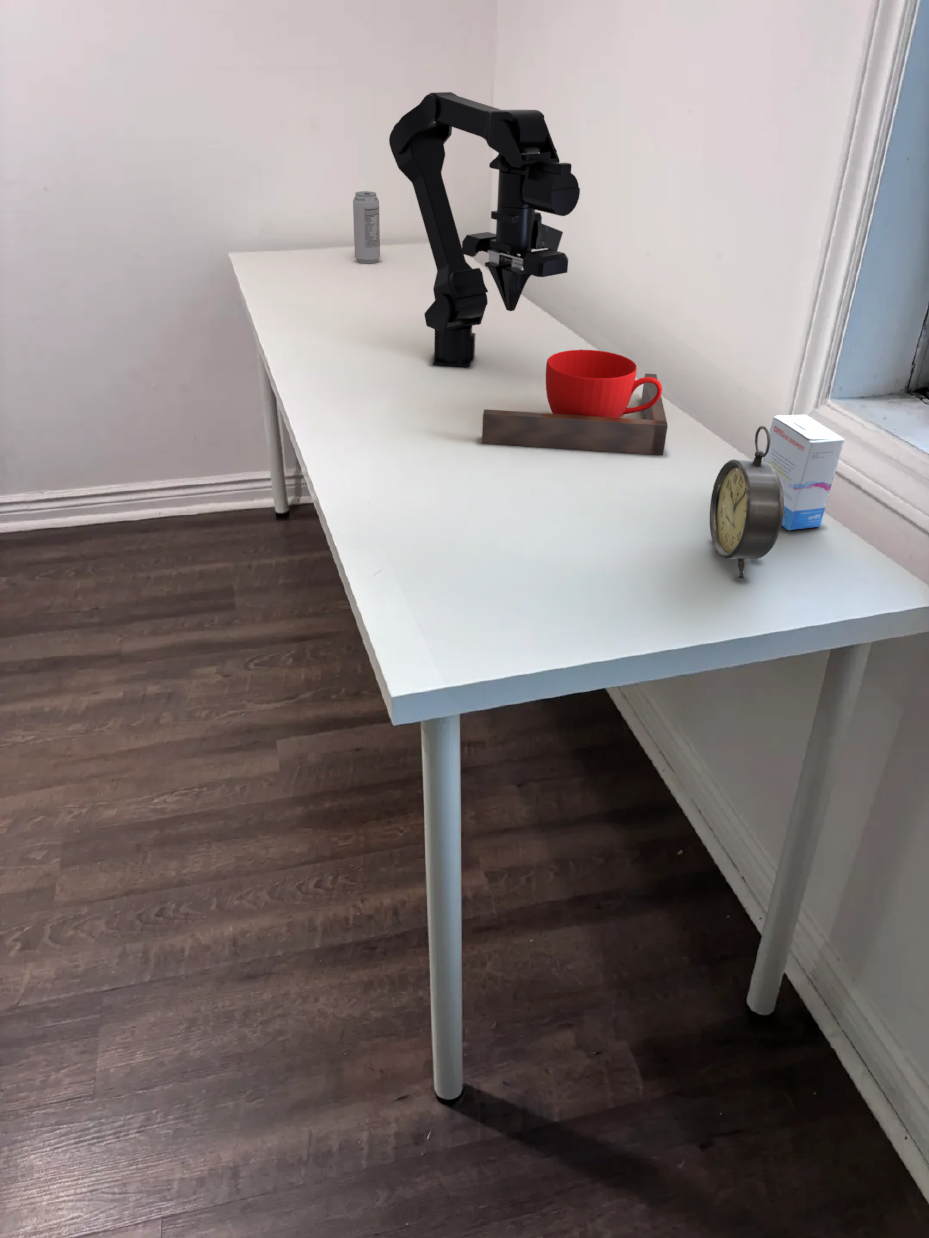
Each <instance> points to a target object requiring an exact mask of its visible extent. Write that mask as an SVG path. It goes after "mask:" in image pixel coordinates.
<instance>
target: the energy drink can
mask: <svg viewBox="0 0 929 1238" xmlns="http://www.w3.org/2000/svg"><path fill="white" fill-rule="evenodd" d="M354 194H355V195H354V198H353V200H352V211H353V215H352V216H353V241H354V243H353V244H354V245H353V246H354V258H355V259H356V261H357V262H358V263H360V264H375V263H378V262H379V260H380V258H381V238H380V237H381V231H380V229H381V227H380V225H381V224H380V223H381V222H380V200H379V198H378V196H377V192H375V191H370V190H369V191H367V190H362V191H355V192H354Z"/></svg>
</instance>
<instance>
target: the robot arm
mask: <svg viewBox="0 0 929 1238" xmlns="http://www.w3.org/2000/svg"><path fill="white" fill-rule="evenodd" d="M453 129H457V130H459V131H463V132H466V133H469V134H472V135H475V136H476V137H477V136H478V137H480V138H481V139H483V140H484V141H485V142H486V144H487V146H488V147H489V148H490V149H492V150H493V151H495V152H497V156H496V157H495V158H493V160H491V161H490V162H489V165H488V166H489V168H490V169H493V170H498V180H497V183H498V184H497V203H496V204H497V205H496V206H497V207H496V210H491V211H490V219H491V220H496V223H495V224H496V227H495V228H496V229H495V233H493V232H490V231H484V232H478V233H471V234H466V235H465V237H464V238H463V240H462V243H461V240H460V236H459V232H458V228H457V225H456V221H455V218H454V214H453V211H452V207H451V204H450V200H449V197H448V193H447V189H446V186H445V182H444V178H443V174H442V171H443V167H444V163H445V158H446V151H445V150H446V149H445V145H444V144H445V143H446V142H447V141H448V140H449V138H451V136H452V132H453ZM388 140H389V142H388V143H389V148H390V151H391V154H392V156H393V158H394V161H395V163H396V166H397V168H398V170H399V171H400V172H401V173H402V174H403V175H404V176H405V177H406V178H407V179H408V180H409V181H410V182H411V184H412V186H413V190H414V194H415V197H416V200H417V204H418V208H419V212H420V215H421V218H422V222H423V226H424V229H425V232H426V237H427V239H428V243H429V247H430V249H431V253H432V256H433V257H432V258H433V260H434V264H435V267H436V275H435V279H434V284H433V290H432V291H433V296H434V301H433V302H432V303H431V305H430V306H428V308H427V310H425V312H424V320H425V323H426V324H425V325H426V326H427V327H428V328H430V329H433V330H434V347H433V350H434V351H433V352H434V353H433V354H434V355H433V356H434V357H433V360H432V365H433V366H445V367H446V366H447V367H461V368H462V367H464V368H469V367H470V366H471V365H472V362H473V361H474V360H475V357H476V333H475V332H473V326H479V325H482V322H483V319H484V315H485V313H486V308H487V306H488V303H489V302H488V301H489V300H488V295H487V293H488V292H489V290H488V288H487V285H486V283H485V280H484V274H483V272H482V270H481V268H480V267H476V268H473V267H472V266H471V265H470V264H469V263H468V262H467V260H466V257H465V256H467V257H471V258H474V257H476V256H477V255H478V254H479V252H484V253H487V254H488V261H485V262H484V266H485V268H488V270H489V273H490V275H491V277H492V279H493V281H494V283H495V285H496V287H497V291H498V292H499V295H500V297H501V300H502V303H503V305H504V307H505V310H506V311H508V312H514V311H515V310H516V308H517V305H518V303H519V301H520V298H521V295H522V293H523V291H524V288H525V286H526V284H527V282H528V280H529V279H530V277H531V276H533V277H536V278H545V277H546V278H547V277H551V276H552V277H553V276H557V275H563V274H568V268H569V257H568V256H567V254H566V253H565V252H562V251H558V250H559V247H560V243H561V240H562V237H563V234H564V231H562V230H560V229H557V228H555V227H552V226H550V225H547V224H544V223H542V219H543V217H542V215H541V214H542V213H546V214H550V215H551V214H552V215H555V216H560V217H565V216H568V215H570V214H571V213H572V212H573V211H574V210H575V208H576V206H577V205H578V202H579V200H580V194H581V188H580V186H579V181H578V178H577V177H576V175H575V174H573V173H572V167H573V166H572V163H571V162H561V161H560V160H561V159H560V158H559V155H558V151H557V148H556V146H555V143H554V141H553V138H552V136H551V133H550V130H549V128H548V125H547V122H546V120H545V115H544V113H542V111H540V110H538V109H501V108H497V107H494V106H490V105H488V104H485V103H482V102H478V101H476V100H473V99H468V98H465V97H463V96H459V95H457V94H456V93H454V92H452V91H442V92H441V91H440V92H437V91H436V92H429V93H428V94H426V95H425V96H424V97H423V99H422V100H421V101H420V102H419V104H417V105H416V106H415V107H413V108H412V109H410V110H409V111H408V112H406V113H405V114H404V115H402V116H401V118H400V119H399V120H398V121H397V122H396V123H395V124H394V126H393V128H392V130H391V131H390V134H389V137H388ZM541 212H542V213H541ZM533 250H534V251H533Z"/></svg>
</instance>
